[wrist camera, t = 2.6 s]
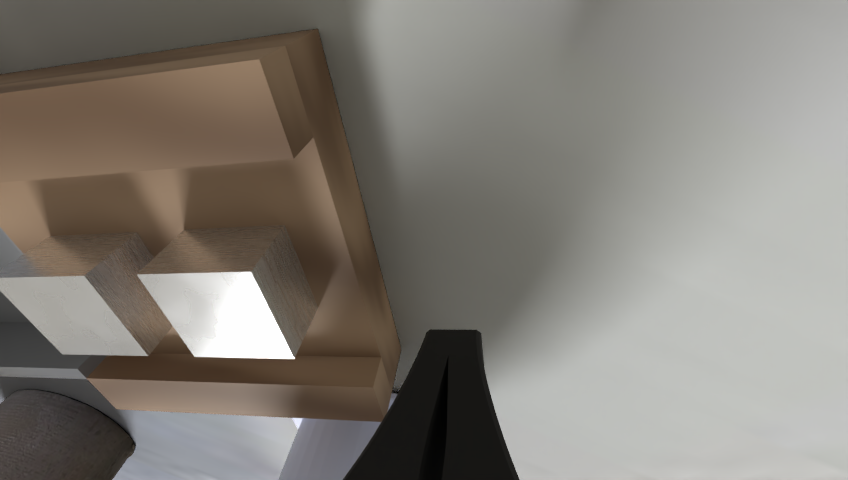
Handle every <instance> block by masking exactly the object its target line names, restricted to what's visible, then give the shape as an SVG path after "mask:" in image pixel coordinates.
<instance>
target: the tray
mask: <svg viewBox="0 0 848 480" xmlns="http://www.w3.org/2000/svg"><path fill="white" fill-rule="evenodd" d="M21 255H23V253H22V251H21V250H20V249H19V248H18V247H17V246H16V245H15V243H14V242H13V241H12V240H11V239H10V238H9V237H8V235H7V234H6V233H5V232H4V231H3V230H2V229H1V227H0V270H1V269H2V268H4V267H5V266H7V265H8V264H10V263H11V262H12V261H14V260H15V259H17V258H18V257H20V256H21ZM106 356H107V355H68V354H61V353H60V351H59V350H58V349H57V348H56V347H55V346H54V345H53V344H52V343H51V342H50V341H49V340H48V339H47V338H46V337H45V336H44V335H43V334H42V333H41V332H40V331H39V330H38V329H37V328H36V327H35V326H34V325H33V324H32V323H31V322H30V321H29V320H28V319H27V318H26V317H25V316H24V315H23V314H22V313H21V312H20V311H19V310H18V309H17V308H16V307H15V306H14V304H13V303H12V302H11V301H10V300H9V299H8V298H7V297H6V296H5V295H4V294H3V293H2V292H1V291H0V376H3V377H34V378H65V379H86V378H87V377H88V376H89V375H90V374H91V373H92V372H93V371H94V369H95V368H96V367H97V366H98V365H99V364H100V363H101V362H102V361H103V360H104V359H105V357H106Z"/></svg>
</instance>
